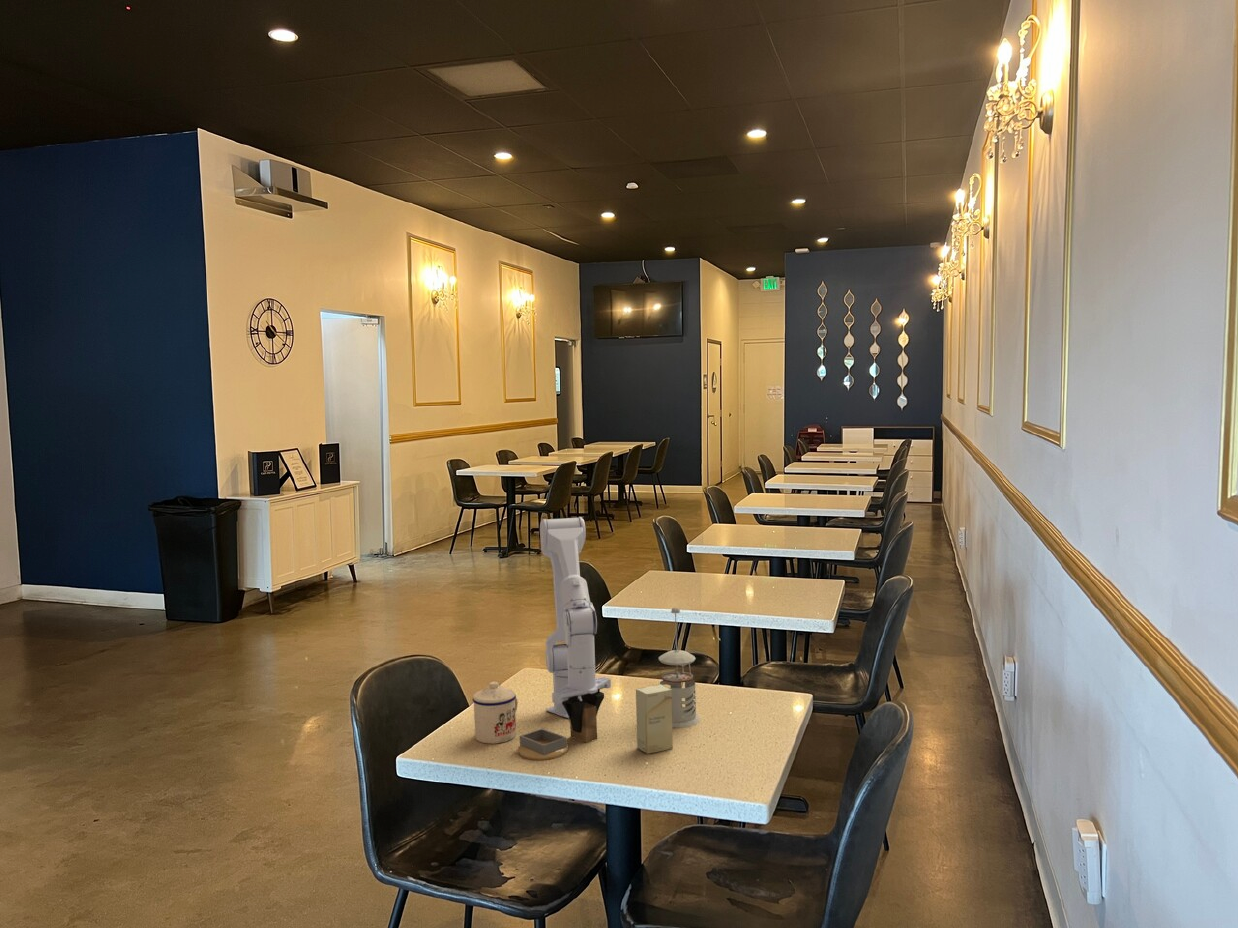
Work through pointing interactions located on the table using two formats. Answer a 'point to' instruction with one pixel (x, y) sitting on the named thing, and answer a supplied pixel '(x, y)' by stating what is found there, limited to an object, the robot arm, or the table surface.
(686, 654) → the french press
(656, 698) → the skincare box
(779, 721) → the table surface
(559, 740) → the grey open box
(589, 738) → the brown wooden block
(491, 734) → the teacup with lid
